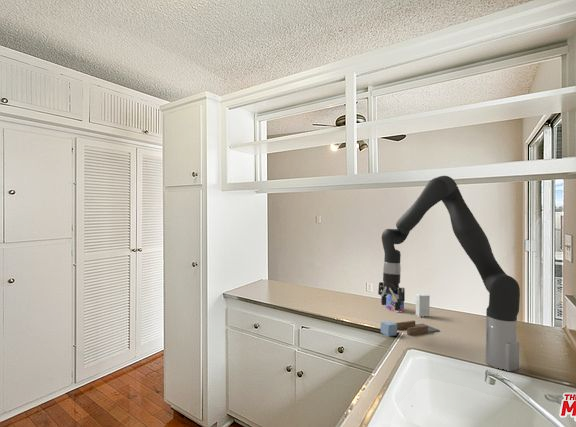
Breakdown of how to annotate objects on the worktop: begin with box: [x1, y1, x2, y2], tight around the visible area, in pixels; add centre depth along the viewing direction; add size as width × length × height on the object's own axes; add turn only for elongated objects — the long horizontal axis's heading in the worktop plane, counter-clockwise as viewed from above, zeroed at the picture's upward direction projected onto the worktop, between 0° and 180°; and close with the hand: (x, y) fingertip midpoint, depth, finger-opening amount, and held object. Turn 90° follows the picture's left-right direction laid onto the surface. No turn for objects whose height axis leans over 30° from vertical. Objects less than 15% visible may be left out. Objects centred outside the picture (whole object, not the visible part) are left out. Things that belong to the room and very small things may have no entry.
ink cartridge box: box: [385, 294, 405, 312], centre depth 183 cm, size 10×6×14 cm, turn 25°
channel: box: [394, 320, 429, 336], centre depth 147 cm, size 8×12×3 cm
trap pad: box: [415, 323, 441, 333], centre depth 151 cm, size 10×6×1 cm, turn 25°
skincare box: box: [415, 293, 431, 317], centre depth 172 cm, size 6×4×12 cm
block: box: [380, 320, 398, 337], centre depth 142 cm, size 5×5×5 cm
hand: (390, 307), depth 142 cm, fingers open, 8 cm apart
